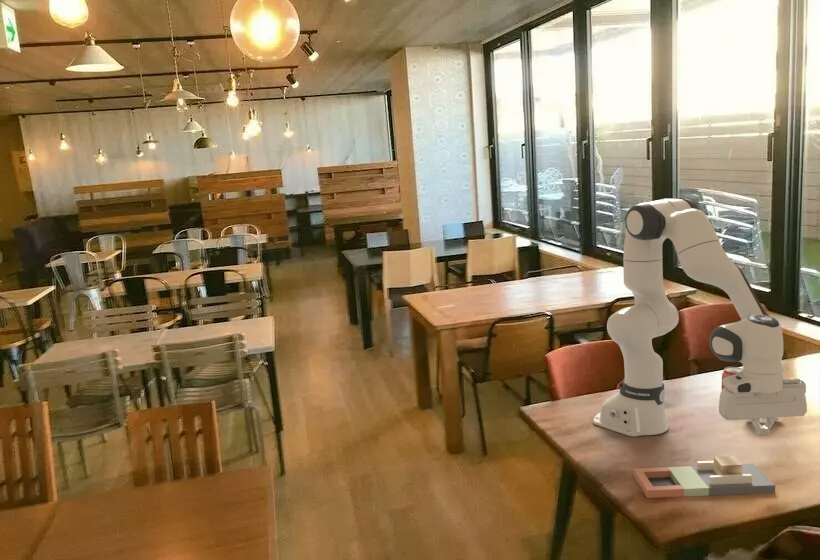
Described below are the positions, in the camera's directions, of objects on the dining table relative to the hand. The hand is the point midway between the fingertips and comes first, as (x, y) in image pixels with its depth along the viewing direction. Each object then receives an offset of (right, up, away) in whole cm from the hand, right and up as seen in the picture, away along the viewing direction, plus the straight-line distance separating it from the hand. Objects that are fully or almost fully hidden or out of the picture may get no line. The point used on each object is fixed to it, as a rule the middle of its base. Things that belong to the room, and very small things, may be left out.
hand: (762, 433), depth 170 cm
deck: (-14, -14, +3) cm, 20 cm away
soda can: (+18, -3, +54) cm, 57 cm away
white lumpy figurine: (+20, -6, +38) cm, 43 cm away
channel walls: (-8, -11, +3) cm, 14 cm away
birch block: (-7, -11, +3) cm, 14 cm away
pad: (-17, -14, +4) cm, 22 cm away
